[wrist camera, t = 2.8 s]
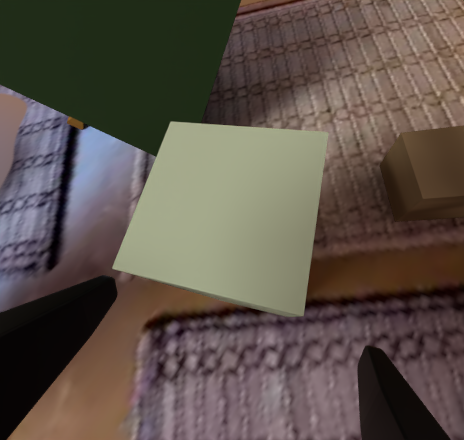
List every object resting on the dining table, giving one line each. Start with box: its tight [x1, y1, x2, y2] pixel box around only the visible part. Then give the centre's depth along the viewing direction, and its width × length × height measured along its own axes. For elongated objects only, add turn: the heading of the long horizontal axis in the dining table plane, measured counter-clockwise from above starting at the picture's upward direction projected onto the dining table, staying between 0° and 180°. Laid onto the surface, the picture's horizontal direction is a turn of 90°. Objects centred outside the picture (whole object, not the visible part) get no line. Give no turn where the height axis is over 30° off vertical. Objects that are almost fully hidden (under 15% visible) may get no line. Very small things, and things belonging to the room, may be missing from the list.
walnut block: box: [380, 126, 464, 222], centre depth 17 cm, size 5×5×4 cm
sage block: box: [112, 122, 328, 317], centre depth 13 cm, size 5×5×13 cm
